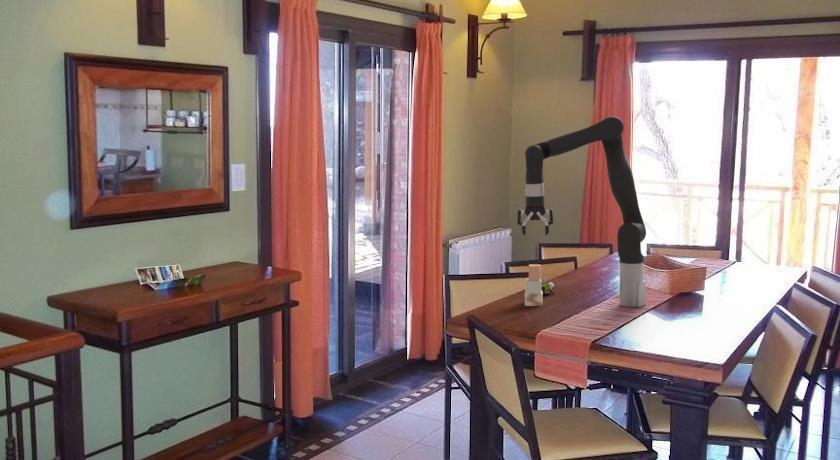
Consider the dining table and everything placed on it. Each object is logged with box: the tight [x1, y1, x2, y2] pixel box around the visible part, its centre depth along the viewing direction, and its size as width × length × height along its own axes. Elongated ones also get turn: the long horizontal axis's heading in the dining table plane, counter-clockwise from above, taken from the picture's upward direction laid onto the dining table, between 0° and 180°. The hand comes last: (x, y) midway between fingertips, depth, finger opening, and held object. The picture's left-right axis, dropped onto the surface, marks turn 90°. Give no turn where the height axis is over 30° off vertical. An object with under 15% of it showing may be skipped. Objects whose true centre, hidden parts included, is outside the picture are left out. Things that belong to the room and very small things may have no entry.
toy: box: [541, 278, 556, 296], centre depth 334 cm, size 7×8×15 cm
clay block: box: [528, 263, 542, 281], centre depth 317 cm, size 4×4×6 cm
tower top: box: [525, 278, 542, 294], centre depth 317 cm, size 6×6×5 cm
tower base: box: [524, 289, 544, 307], centre depth 318 cm, size 7×7×5 cm
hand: (535, 235), depth 316 cm, fingers open, 8 cm apart
